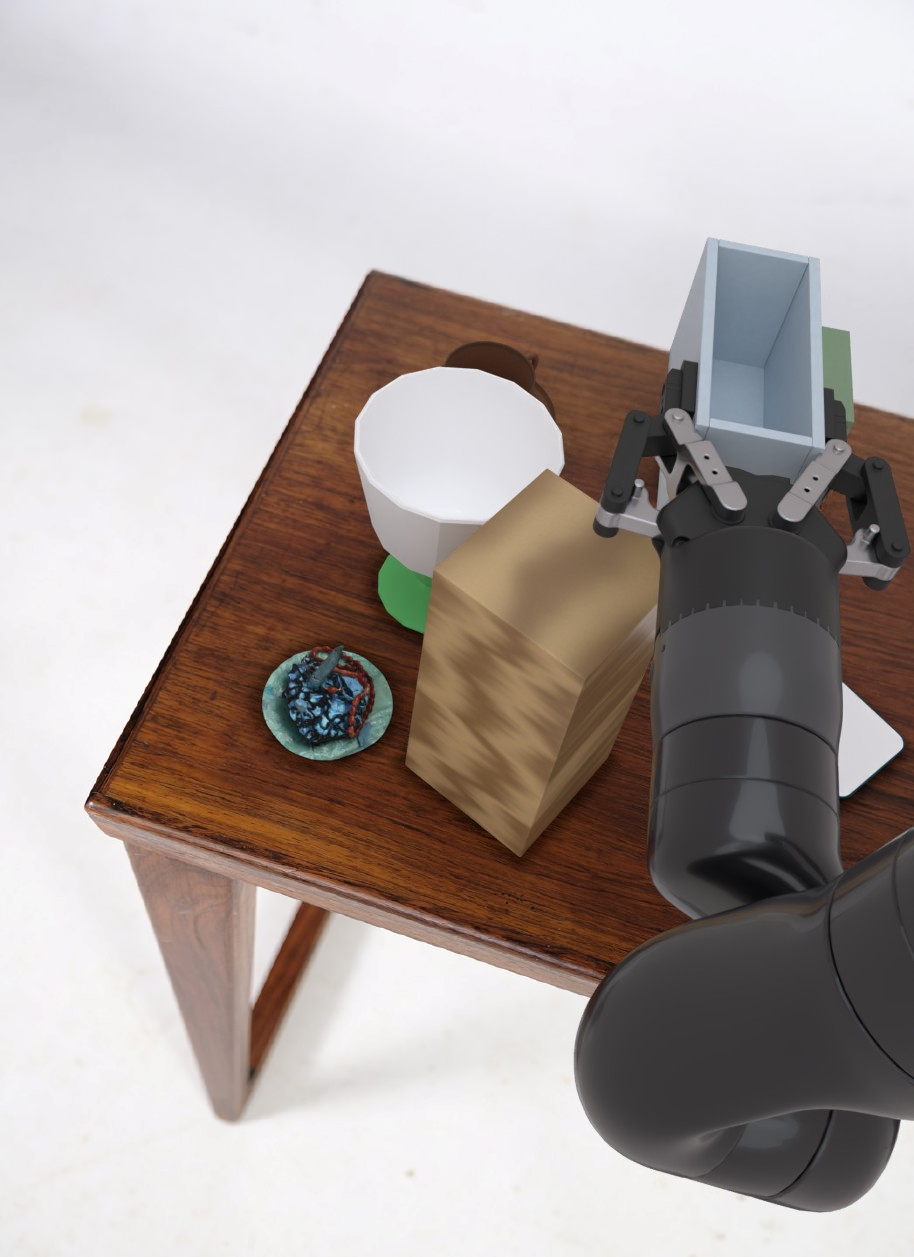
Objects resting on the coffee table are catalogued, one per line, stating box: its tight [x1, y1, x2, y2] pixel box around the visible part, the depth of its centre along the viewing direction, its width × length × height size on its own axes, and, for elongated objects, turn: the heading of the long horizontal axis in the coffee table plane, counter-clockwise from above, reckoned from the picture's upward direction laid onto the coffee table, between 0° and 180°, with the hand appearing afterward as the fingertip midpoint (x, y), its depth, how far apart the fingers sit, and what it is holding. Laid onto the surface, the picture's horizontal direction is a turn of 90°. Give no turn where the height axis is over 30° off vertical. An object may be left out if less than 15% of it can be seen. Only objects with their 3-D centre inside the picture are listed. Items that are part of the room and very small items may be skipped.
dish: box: [261, 644, 394, 761], centre depth 82 cm, size 8×7×8 cm
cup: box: [353, 366, 566, 635], centre depth 83 cm, size 14×14×16 cm
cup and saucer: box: [439, 340, 557, 424], centre depth 97 cm, size 12×12×6 cm
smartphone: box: [838, 680, 906, 803], centre depth 87 cm, size 8×1×16 cm
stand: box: [404, 469, 660, 858], centre depth 73 cm, size 10×10×22 cm
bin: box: [656, 236, 825, 510], centre depth 62 cm, size 14×6×8 cm, turn 171°
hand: (751, 387), depth 59 cm, fingers closed on bin, 6 cm apart
